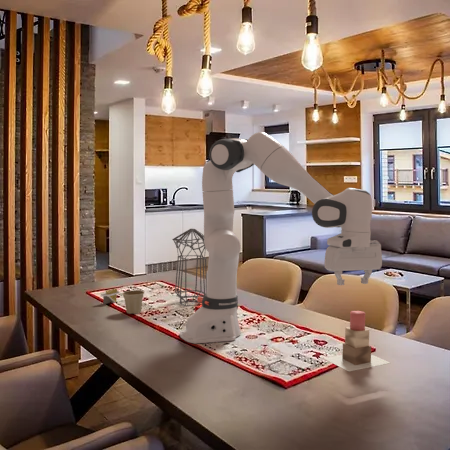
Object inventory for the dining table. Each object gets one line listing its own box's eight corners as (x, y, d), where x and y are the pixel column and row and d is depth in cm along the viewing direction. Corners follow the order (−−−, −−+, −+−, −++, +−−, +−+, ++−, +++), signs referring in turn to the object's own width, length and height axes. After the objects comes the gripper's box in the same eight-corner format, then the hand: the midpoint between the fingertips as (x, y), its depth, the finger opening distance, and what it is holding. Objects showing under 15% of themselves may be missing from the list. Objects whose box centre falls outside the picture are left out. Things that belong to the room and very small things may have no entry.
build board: (348, 375, 142) (348, 371, 142) (323, 362, 153) (323, 358, 153) (390, 366, 149) (390, 362, 149) (363, 354, 160) (363, 350, 160)
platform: (134, 301, 233) (134, 288, 232) (106, 309, 218) (105, 295, 217) (116, 298, 239) (115, 285, 239) (87, 306, 224) (87, 291, 224)
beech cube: (345, 343, 151) (345, 327, 151) (357, 341, 154) (358, 325, 153) (356, 348, 147) (356, 332, 146) (368, 345, 149) (369, 329, 149)
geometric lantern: (170, 301, 232) (171, 227, 230) (201, 299, 238) (202, 227, 236) (179, 308, 217) (180, 229, 215) (213, 306, 223) (214, 229, 221)
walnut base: (355, 365, 147) (355, 349, 146) (342, 358, 152) (342, 343, 152) (370, 362, 149) (371, 346, 149) (357, 356, 155) (357, 340, 154)
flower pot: (118, 313, 209) (117, 293, 208) (130, 308, 218) (130, 289, 217) (137, 316, 206) (136, 295, 205) (148, 310, 214) (148, 291, 214)
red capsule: (356, 331, 147) (357, 315, 147) (346, 327, 151) (347, 311, 150) (367, 329, 149) (368, 313, 148) (358, 325, 153) (358, 310, 152)
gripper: (374, 239, 160) (371, 280, 161) (322, 239, 151) (320, 283, 152) (388, 241, 154) (385, 284, 155) (335, 241, 146) (332, 287, 147)
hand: (352, 284), depth 154 cm, fingers open, 8 cm apart
